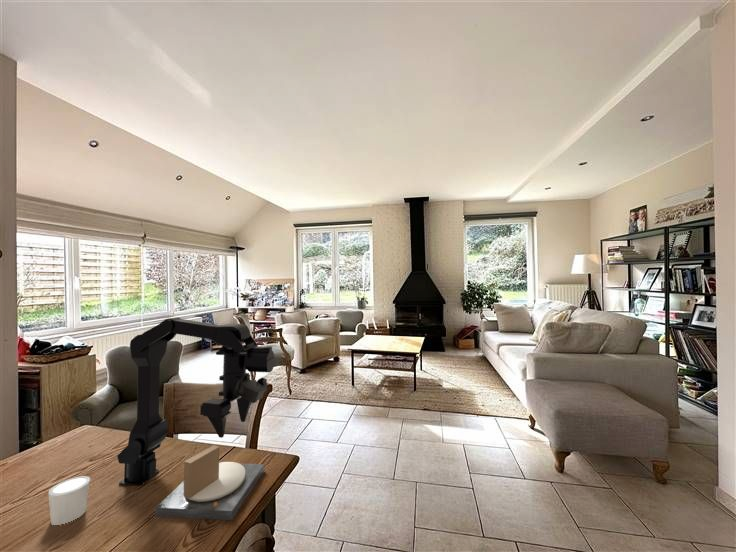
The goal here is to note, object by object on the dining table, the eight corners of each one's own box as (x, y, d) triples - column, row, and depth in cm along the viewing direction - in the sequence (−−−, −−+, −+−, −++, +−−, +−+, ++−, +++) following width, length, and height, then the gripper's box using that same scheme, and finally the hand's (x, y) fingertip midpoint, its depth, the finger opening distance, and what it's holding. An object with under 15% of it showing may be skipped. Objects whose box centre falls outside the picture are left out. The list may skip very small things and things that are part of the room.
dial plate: (155, 516, 68) (155, 507, 68) (203, 469, 86) (203, 461, 86) (231, 520, 67) (231, 510, 67) (263, 471, 85) (264, 463, 85)
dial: (219, 461, 86) (220, 429, 86) (256, 473, 81) (257, 438, 81) (166, 494, 72) (167, 455, 73) (207, 511, 67) (208, 469, 67)
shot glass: (62, 530, 64) (63, 497, 65) (38, 525, 66) (39, 492, 66) (96, 507, 71) (98, 477, 71) (74, 503, 72) (75, 473, 73)
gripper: (240, 383, 71) (237, 450, 70) (278, 364, 89) (277, 417, 88) (199, 380, 73) (196, 445, 72) (245, 362, 91) (243, 413, 91)
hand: (232, 429), depth 81 cm, fingers open, 9 cm apart
